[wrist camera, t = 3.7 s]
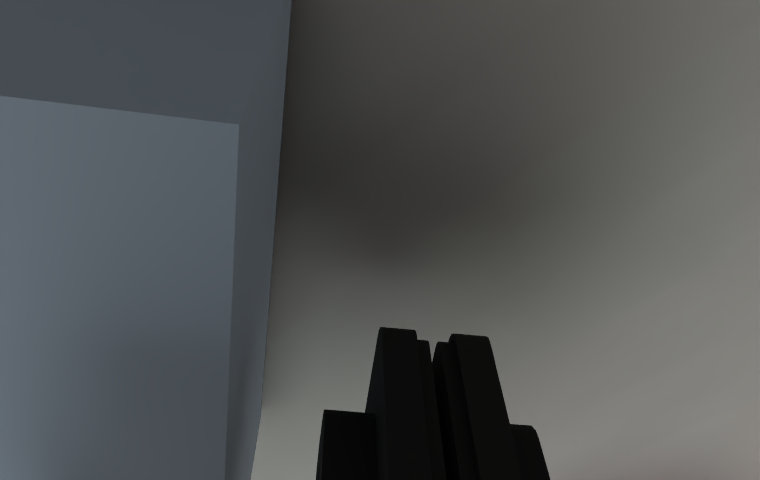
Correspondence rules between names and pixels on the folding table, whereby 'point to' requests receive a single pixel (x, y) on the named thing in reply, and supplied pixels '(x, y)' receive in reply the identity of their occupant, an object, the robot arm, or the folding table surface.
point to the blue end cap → (136, 234)
